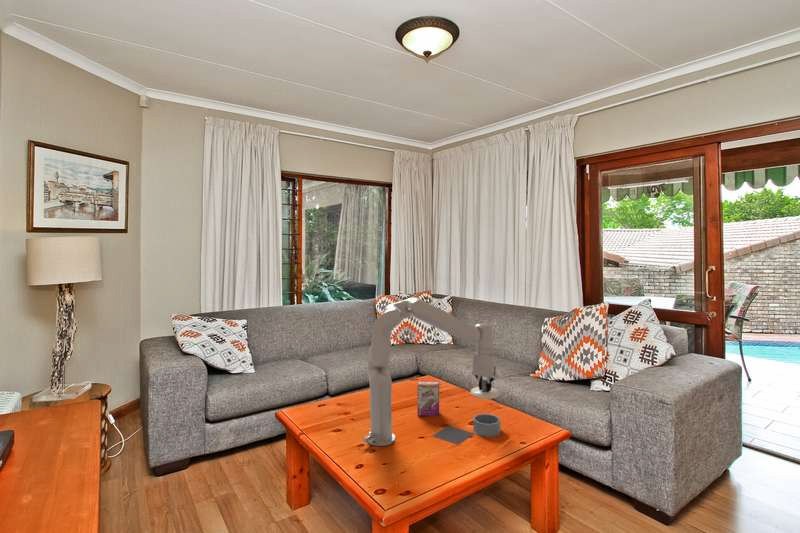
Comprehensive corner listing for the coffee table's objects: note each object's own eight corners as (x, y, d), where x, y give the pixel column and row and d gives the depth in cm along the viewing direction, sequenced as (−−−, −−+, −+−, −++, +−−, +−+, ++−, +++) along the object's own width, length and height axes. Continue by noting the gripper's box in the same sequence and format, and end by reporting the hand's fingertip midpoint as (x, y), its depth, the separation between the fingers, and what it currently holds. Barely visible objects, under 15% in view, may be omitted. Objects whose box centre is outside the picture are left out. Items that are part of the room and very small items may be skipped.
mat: (458, 446, 178) (458, 444, 178) (431, 437, 187) (431, 435, 187) (474, 434, 188) (474, 433, 188) (448, 426, 197) (448, 425, 197)
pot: (492, 440, 183) (492, 426, 183) (468, 432, 190) (468, 420, 190) (504, 430, 192) (504, 418, 192) (481, 424, 200) (481, 411, 199)
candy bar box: (417, 416, 210) (417, 384, 210) (418, 412, 215) (417, 381, 215) (439, 416, 209) (439, 384, 209) (439, 413, 214) (439, 381, 214)
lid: (491, 401, 181) (491, 387, 181) (465, 395, 190) (465, 381, 189) (504, 392, 191) (504, 379, 191) (479, 387, 200) (479, 374, 199)
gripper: (464, 349, 192) (465, 389, 193) (497, 354, 181) (497, 396, 182) (472, 346, 198) (473, 384, 198) (504, 351, 187) (505, 391, 188)
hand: (485, 389), depth 190 cm, fingers closed on lid, 3 cm apart
